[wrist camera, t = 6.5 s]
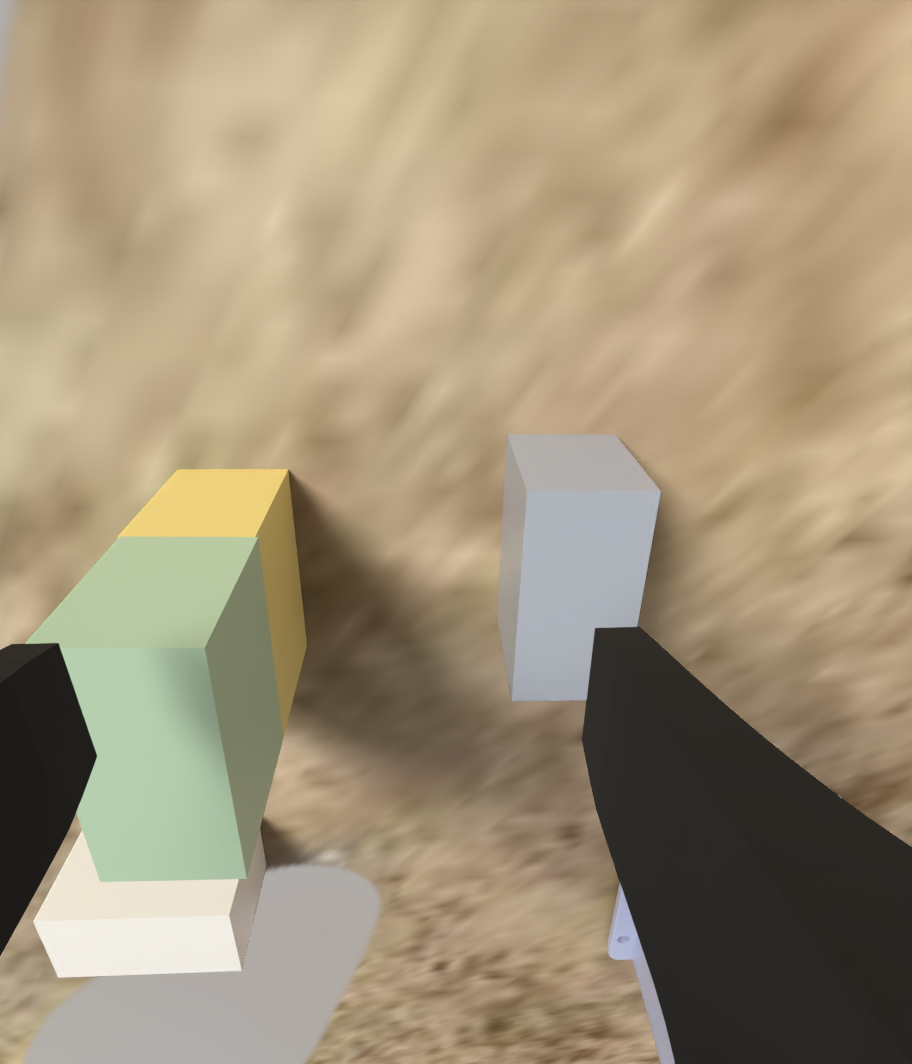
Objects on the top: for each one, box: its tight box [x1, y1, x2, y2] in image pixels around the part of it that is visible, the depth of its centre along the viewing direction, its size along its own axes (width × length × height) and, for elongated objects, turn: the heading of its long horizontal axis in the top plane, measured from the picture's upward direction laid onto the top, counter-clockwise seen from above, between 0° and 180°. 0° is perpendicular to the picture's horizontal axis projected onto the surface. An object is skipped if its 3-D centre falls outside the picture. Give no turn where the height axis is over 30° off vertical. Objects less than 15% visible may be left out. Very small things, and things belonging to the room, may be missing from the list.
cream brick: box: [33, 830, 266, 977], centre depth 23 cm, size 6×3×4 cm, turn 89°
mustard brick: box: [117, 469, 307, 737], centre depth 18 cm, size 6×3×4 cm, turn 179°
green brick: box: [25, 536, 283, 882], centre depth 14 cm, size 6×3×4 cm, turn 178°
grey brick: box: [497, 434, 661, 701], centre depth 18 cm, size 6×3×4 cm, turn 179°
